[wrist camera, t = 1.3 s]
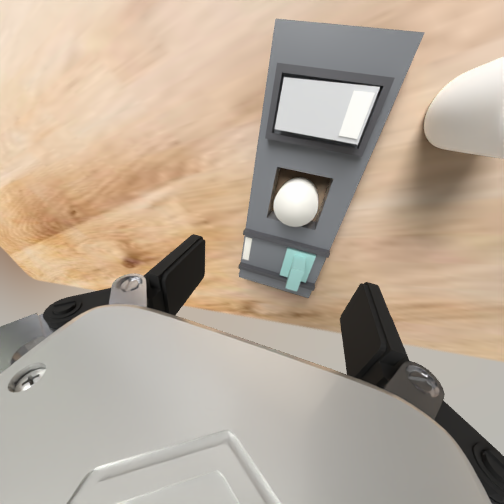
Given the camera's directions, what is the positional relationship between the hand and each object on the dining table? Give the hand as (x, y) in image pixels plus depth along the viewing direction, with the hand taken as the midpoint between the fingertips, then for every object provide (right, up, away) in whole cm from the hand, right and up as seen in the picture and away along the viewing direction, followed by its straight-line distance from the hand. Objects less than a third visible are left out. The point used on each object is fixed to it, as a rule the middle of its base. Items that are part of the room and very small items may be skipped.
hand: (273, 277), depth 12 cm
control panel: (+5, +9, +15) cm, 19 cm away
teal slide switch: (+5, 0, +17) cm, 18 cm away
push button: (+5, +9, +14) cm, 17 cm away
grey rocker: (+5, +14, +6) cm, 17 cm away
